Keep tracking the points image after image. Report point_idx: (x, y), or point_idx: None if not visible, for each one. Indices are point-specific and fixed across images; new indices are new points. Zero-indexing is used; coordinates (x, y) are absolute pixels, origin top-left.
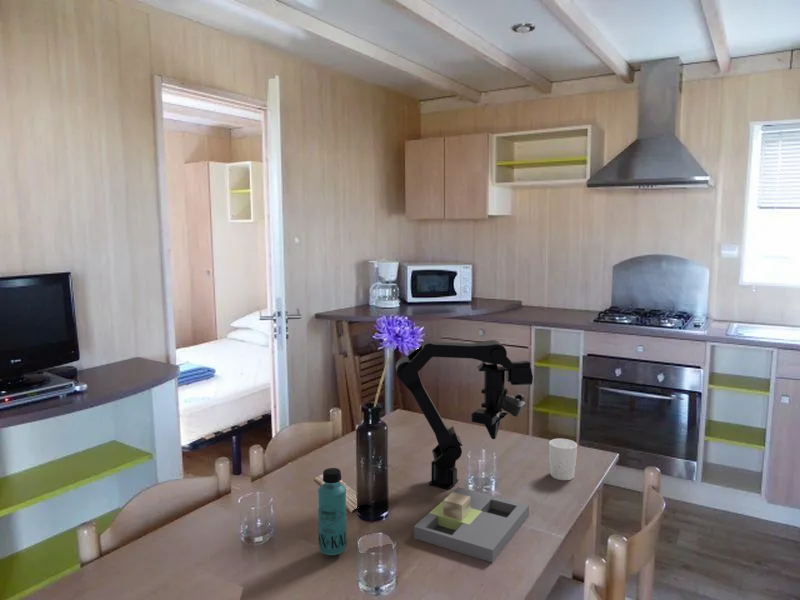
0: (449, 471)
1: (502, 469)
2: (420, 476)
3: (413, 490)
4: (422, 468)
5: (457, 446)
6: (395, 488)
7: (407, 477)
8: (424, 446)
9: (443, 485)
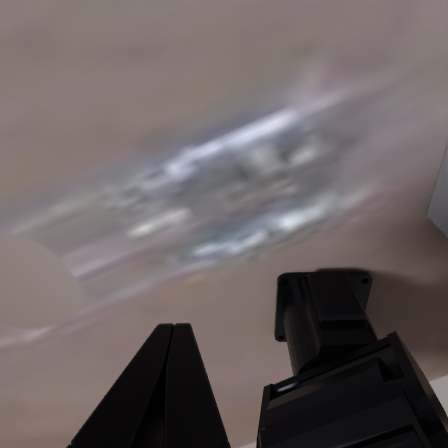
0: (370, 327)
1: (44, 174)
2: None
3: (414, 347)
4: (242, 388)
5: (429, 442)
6: None
7: None
8: None
9: (358, 296)
